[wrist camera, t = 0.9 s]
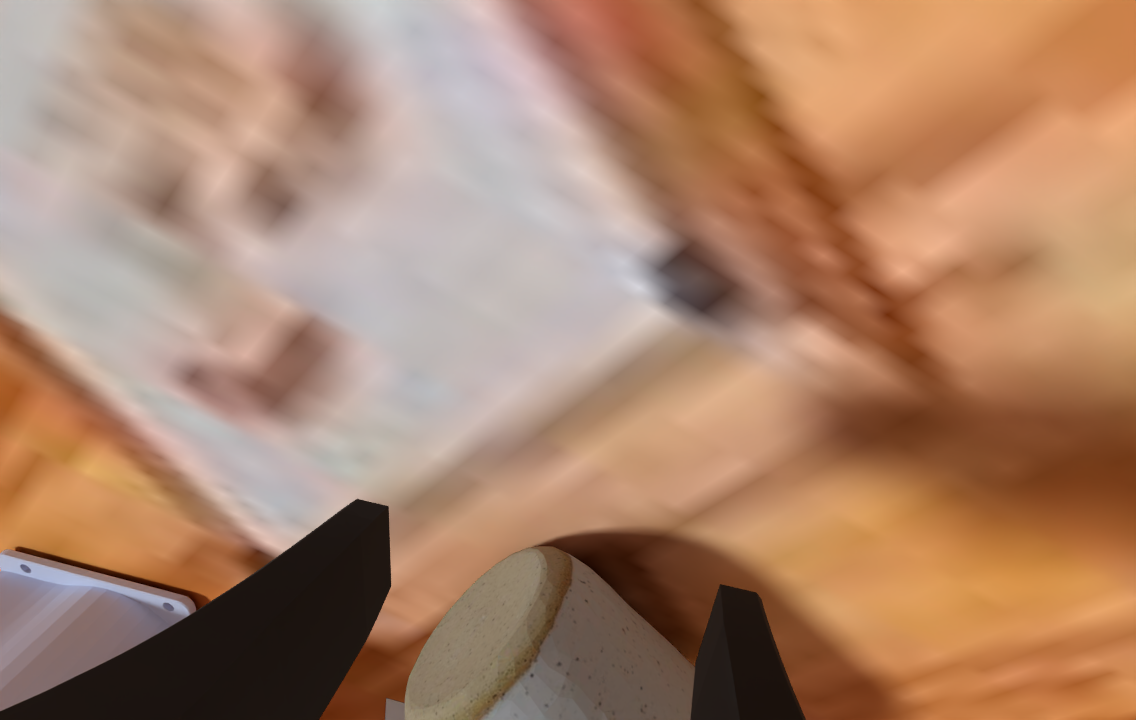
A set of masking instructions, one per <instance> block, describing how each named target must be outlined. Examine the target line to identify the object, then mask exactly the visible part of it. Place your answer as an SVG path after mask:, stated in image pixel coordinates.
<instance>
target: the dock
mask: <svg viewBox="0 0 1136 720" xmlns="http://www.w3.org/2000/svg"><path fill="white" fill-rule="evenodd" d="M385 720H405V703H402V702H399V701H395V700H391V699H388V698H386V712H385Z"/></svg>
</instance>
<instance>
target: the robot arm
mask: <svg viewBox="0 0 1136 720" xmlns="http://www.w3.org/2000/svg"><path fill="white" fill-rule="evenodd" d="M0 569H1V571H0V720H319V719H320V717H321V715H322V714H323V712H324V710H325V709H326V707H327V705H328V704H329V702H330V701H331V699H332V697H333V696H334V694H335V692H336V691H337V689H338V687H339V686H340V684H341V682H342V681H343V679H344V677H345V676H346V674H347V672H348V671H349V669H350V667H351V666H352V664H353V662H354V660H355V659H356V657H357V655H358V654H359V652H360V650H361V649H362V647H363V645H364V644H365V642H366V640H367V638H368V636H369V634H370V632H371V630H372V628H373V625H374V623H375V621H376V619H377V617H378V615H379V612H380V610H381V608H382V606H383V603H384V601H385V599H386V597H387V594H388V592H389V590H390V587H391V566H390V537H389V507H388V506H385V505H381V504H376V503H372V502H368V501H364V500H359V499H356V500H355V501H353V502H352V503H350V504H349V505H347V506H346V507H345V508H343V509H342V510H341V511H339V512H338V513H337V514H335V515H334V516H333V517H331V518H330V519H328V520H327V521H326V522H324V523H323V524H322V525H320V526H319V527H318V528H316V529H315V530H314V531H312V532H311V533H310V534H308V535H307V536H306V537H304V538H303V539H301V540H300V541H299V542H297V543H296V544H295V545H293V546H292V547H291V548H289V549H288V550H286V551H285V552H283V553H282V554H281V555H279V556H278V557H276V558H275V559H274V560H272V561H271V562H269V563H268V564H266V565H265V566H264V567H262V568H261V569H259V570H258V571H256V572H255V573H254V574H252V575H251V576H249V577H248V578H246V579H245V580H243V581H242V582H240V583H239V584H237V585H236V586H234V587H233V588H231V589H230V590H228V591H226V592H225V593H223V594H222V595H220V596H219V597H217V598H216V599H214V600H212V601H211V602H209V603H208V604H206V605H205V606H203V607H202V608H200V609H198V610H197V611H196V607H195V604H194V602H193V601H192V600H191V599H190V598H189V597H187V596H184V595H181V594H177V593H173V592H169V591H166V590H162V589H158V588H154V587H151V586H147V585H143V584H139V583H135V582H132V581H128V580H124V579H120V578H116V577H113V576H109V575H105V574H101V573H98V572H94V571H90V570H86V569H82V568H79V567H75V566H71V565H67V564H63V563H60V562H56V561H52V560H48V559H45V558H41V557H37V556H33V555H29V554H26V553H22V552H18V551H14V550H9V549H6V550H4V551H2V552H1V553H0ZM690 720H806V719H805V717H804V714H803V712H802V710H801V707H800V705H799V703H798V700H797V698H796V695H795V693H794V691H793V688H792V686H791V683H790V681H789V678H788V676H787V673H786V671H785V668H784V665H783V663H782V660H781V657H780V655H779V652H778V649H777V646H776V644H775V641H774V638H773V635H772V632H771V629H770V626H769V623H768V620H767V617H766V614H765V610H764V607H763V604H762V600H761V598H760V597H759V595H758V594H757V593H755V592H751V591H747V590H743V589H738V588H734V587H730V586H726V585H721V584H720V586H719V589H718V593H717V596H716V599H715V602H714V605H713V609H712V612H711V615H710V618H709V621H708V625H707V628H706V631H705V634H704V637H703V641H702V644H701V647H700V650H699V653H698V657H697V660H696V664H695V675H694V685H693V696H692V707H691V719H690Z"/></svg>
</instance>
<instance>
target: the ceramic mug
mask: <svg viewBox="0 0 1136 720" xmlns="http://www.w3.org/2000/svg"><path fill="white" fill-rule="evenodd" d="M694 675H695V666H693V665H692V664H691V663H690V662H689V661H688V660H687V659H686V658H685V657H684V656H683V655H682V654H681V653H680V652H679V651H678V650H677V649H676V648H675V647H674V646H673V645H672V644H671V643H670V642H668V641H667V640H666V639H665V638H664V637H663V636H662V635H661V634H660V633H659V632H658V631H657V630H656V629H654V628H653V627H652V626H651V625H650V624H649V623H648V622H647V621H646V620H644V619H643V618H642V617H641V616H640V615H639V614H638V613H637V612H636V611H635V610H634V609H632V608H631V607H630V606H629V605H628V604H627V603H626V602H625V601H624V600H623V599H622V598H621V597H620V596H619V595H618V594H617V593H616V592H615V591H614V590H613V589H612V587H611V586H610V585H608V584H607V583H606V582H605V581H604V580H603V579H602V578H601V577H600V576H599V575H597V574H596V573H595V572H594V571H593V570H592V569H591V568H590V567H588V566H587V565H585V564H584V563H582V562H581V561H579V560H578V559H576V558H575V557H573V556H571V555H570V554H568V553H566V552H564V551H562V550H560V549H557V548H555V547H553V546H537V547H531V548H527V549H524V550H521V551H519V552H516V553H514V554H512V555H510V556H508V557H507V558H505V559H504V560H502V561H500V562H499V563H497V564H496V565H495V566H493V567H492V568H491V569H490V570H489V571H487V572H486V573H485V574H484V575H482V576H481V577H480V578H479V579H478V580H477V581H476V582H475V583H474V584H473V585H472V586H471V587H470V588H469V589H468V590H467V591H466V592H465V593H464V594H463V595H462V596H461V597H460V599H459V600H458V601H457V602H456V603H455V604H454V605H453V607H452V608H451V609H450V610H449V611H448V612H447V614H446V615H445V616H444V618H443V619H442V620H441V622H440V623H439V624H438V626H437V627H436V629H435V630H434V631H433V633H432V634H431V636H430V637H429V639H428V641H427V642H426V644H425V645H424V647H423V649H422V651H421V653H420V655H419V657H418V659H417V661H416V663H415V665H414V667H413V669H412V672H411V674H410V676H409V679H408V683H407V688H406V694H405V720H690V719H691V707H692V696H693V685H694Z"/></svg>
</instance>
